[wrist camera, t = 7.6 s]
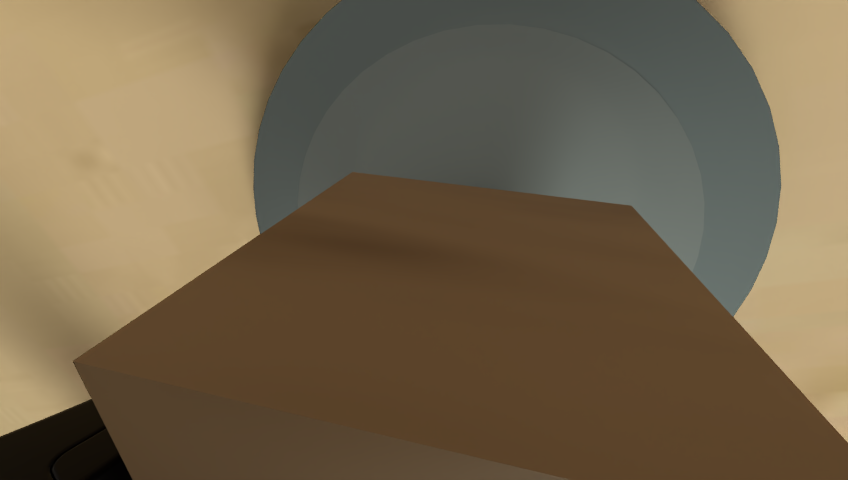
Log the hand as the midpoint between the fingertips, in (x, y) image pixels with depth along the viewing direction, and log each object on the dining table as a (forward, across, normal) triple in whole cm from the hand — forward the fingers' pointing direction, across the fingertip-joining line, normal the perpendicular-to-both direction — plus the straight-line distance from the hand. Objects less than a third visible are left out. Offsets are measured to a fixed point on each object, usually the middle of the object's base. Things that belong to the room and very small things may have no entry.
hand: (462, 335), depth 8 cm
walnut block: (+1, 0, 0) cm, 1 cm away
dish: (+6, 0, 0) cm, 6 cm away
